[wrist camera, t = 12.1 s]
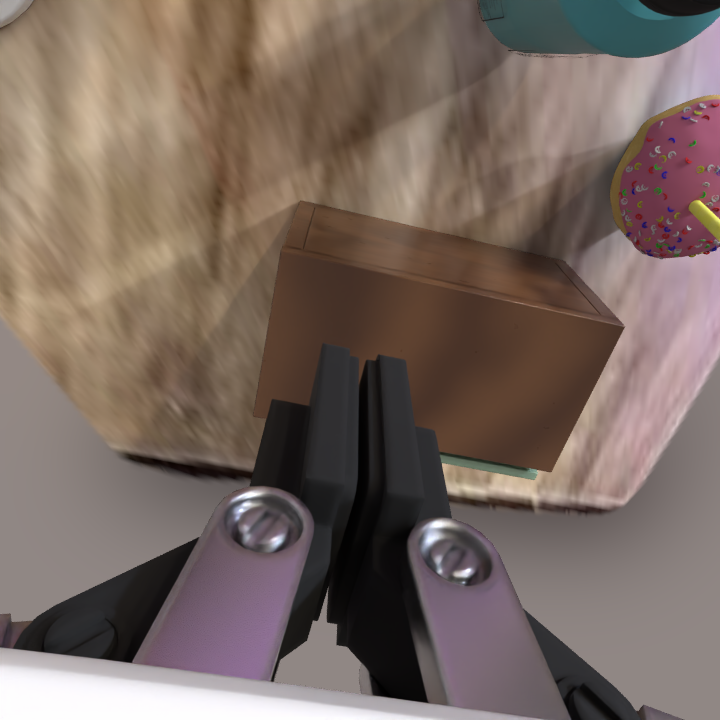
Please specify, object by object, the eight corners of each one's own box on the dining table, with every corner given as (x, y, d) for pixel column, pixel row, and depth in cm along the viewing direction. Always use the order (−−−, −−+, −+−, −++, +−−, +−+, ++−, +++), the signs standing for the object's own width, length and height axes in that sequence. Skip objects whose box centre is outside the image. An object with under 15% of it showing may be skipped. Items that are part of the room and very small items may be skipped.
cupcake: (631, 259, 38) (733, 342, 28) (557, 165, 35) (641, 217, 25) (753, 166, 35) (920, 219, 25) (684, 54, 32) (840, 61, 22)
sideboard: (274, 343, 41) (251, 423, 33) (300, 200, 36) (280, 250, 28) (510, 390, 43) (548, 479, 34) (565, 261, 38) (625, 326, 29)
